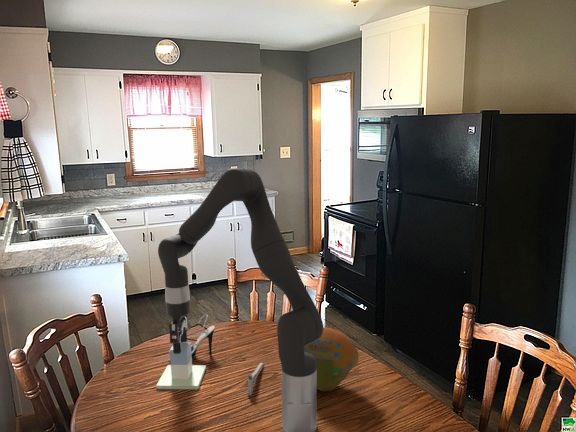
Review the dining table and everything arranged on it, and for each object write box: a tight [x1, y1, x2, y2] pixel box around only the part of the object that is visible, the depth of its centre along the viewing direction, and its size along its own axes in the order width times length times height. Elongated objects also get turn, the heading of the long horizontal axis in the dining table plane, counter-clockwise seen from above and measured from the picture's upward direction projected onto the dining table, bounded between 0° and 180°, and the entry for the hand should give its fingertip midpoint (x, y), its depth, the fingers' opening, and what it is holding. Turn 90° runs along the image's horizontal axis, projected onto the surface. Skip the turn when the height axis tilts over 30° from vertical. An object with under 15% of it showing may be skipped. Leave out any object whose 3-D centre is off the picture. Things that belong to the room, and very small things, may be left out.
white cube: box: [170, 357, 193, 380], centre depth 157 cm, size 5×5×5 cm
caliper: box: [247, 362, 265, 396], centre depth 156 cm, size 20×1×6 cm, turn 172°
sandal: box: [168, 314, 216, 361], centre depth 171 cm, size 15×9×15 cm, turn 82°
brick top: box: [169, 342, 192, 365], centre depth 156 cm, size 5×5×5 cm
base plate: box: [155, 364, 207, 390], centre depth 157 cm, size 13×13×1 cm
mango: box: [304, 326, 359, 392], centre depth 150 cm, size 20×16×20 cm
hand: (180, 347), depth 155 cm, fingers open, 8 cm apart
